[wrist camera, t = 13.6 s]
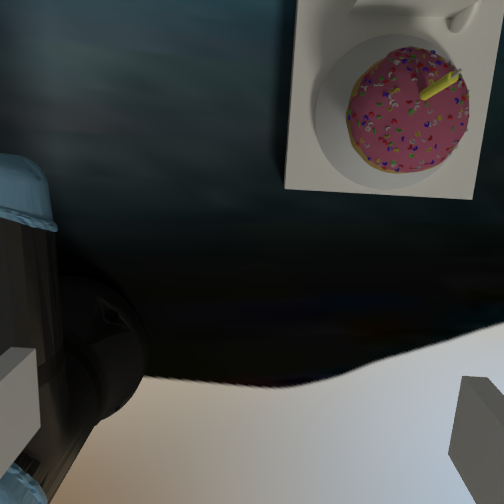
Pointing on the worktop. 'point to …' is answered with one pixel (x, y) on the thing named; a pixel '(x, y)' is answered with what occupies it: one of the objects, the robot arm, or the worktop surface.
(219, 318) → the worktop surface
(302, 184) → the scale
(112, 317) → the robot arm
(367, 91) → the cupcake
